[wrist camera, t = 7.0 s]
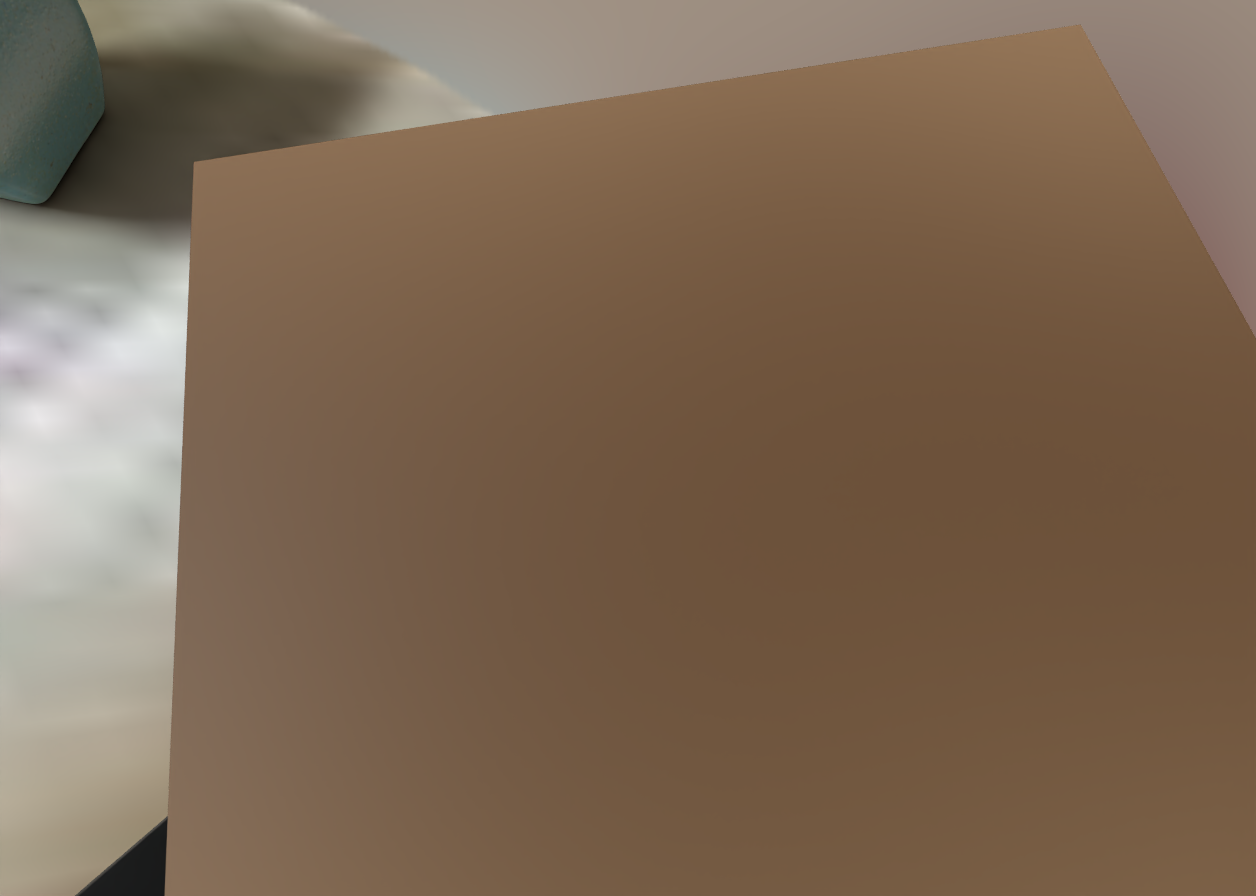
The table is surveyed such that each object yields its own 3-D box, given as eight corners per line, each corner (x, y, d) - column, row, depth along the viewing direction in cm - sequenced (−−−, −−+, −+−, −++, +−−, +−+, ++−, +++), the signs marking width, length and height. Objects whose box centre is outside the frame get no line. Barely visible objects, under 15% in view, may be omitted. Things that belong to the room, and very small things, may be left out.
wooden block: (782, 737, 14) (1695, 1131, 2) (577, 778, 14) (140, 1514, 2) (733, 534, 16) (1081, 26, 3) (547, 569, 15) (192, 161, 3)
